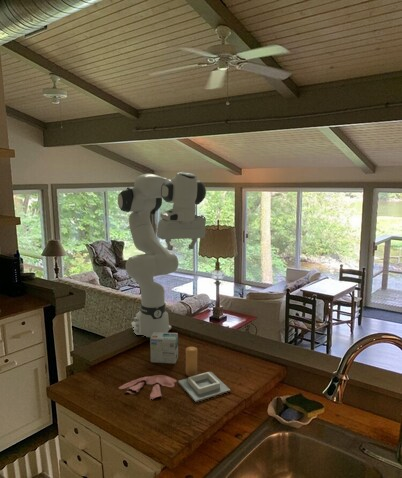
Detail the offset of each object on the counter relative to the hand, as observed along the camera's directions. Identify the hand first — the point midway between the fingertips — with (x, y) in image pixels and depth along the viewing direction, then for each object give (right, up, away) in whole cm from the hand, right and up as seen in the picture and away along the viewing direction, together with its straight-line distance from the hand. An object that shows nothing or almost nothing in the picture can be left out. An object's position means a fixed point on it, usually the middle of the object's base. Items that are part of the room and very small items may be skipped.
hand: (180, 249), depth 151 cm
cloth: (-12, -51, -13) cm, 54 cm away
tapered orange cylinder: (+4, -48, -2) cm, 48 cm away
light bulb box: (-7, -46, +9) cm, 48 cm away
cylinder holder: (+9, -50, -12) cm, 52 cm away
